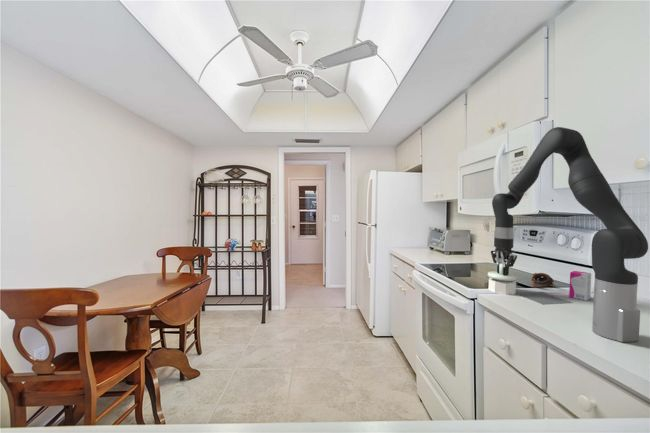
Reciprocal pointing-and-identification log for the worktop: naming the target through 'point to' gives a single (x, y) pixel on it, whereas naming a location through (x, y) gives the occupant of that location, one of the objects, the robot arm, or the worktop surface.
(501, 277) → the lid
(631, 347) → the worktop surface
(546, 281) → the pottery mug
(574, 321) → the worktop surface
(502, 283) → the bowl
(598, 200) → the robot arm
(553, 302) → the mat
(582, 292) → the supplement box
